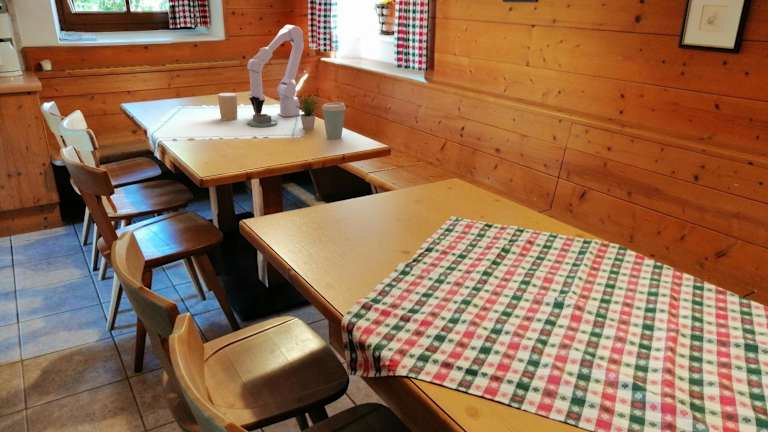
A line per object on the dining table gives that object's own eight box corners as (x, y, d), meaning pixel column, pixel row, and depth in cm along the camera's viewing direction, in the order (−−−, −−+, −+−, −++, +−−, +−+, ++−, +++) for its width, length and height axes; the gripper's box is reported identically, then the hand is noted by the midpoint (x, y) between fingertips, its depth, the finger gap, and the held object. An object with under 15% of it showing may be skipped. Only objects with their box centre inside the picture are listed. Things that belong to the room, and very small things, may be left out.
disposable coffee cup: (324, 140, 244) (323, 106, 238) (320, 134, 254) (319, 101, 248) (348, 139, 247) (348, 105, 241) (343, 133, 256) (343, 100, 251)
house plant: (318, 133, 256) (317, 97, 249) (289, 131, 258) (287, 95, 252) (327, 126, 268) (326, 92, 262) (299, 124, 271) (298, 90, 265)
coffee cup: (241, 117, 282) (239, 93, 278) (235, 121, 274) (233, 96, 269) (223, 116, 283) (221, 92, 279) (216, 120, 274) (214, 95, 270)
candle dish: (270, 119, 279) (269, 111, 277) (282, 125, 268) (281, 117, 267) (243, 122, 272) (242, 114, 270) (254, 128, 261) (253, 120, 259)
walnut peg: (259, 116, 283) (258, 100, 280) (262, 117, 281) (261, 101, 278) (254, 116, 282) (253, 100, 279) (256, 117, 279) (255, 101, 276)
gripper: (242, 82, 279) (244, 110, 284) (253, 87, 268) (255, 115, 273) (256, 82, 282) (258, 109, 287) (267, 86, 271) (269, 114, 276)
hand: (257, 112), depth 280 cm, fingers closed on walnut peg, 3 cm apart
